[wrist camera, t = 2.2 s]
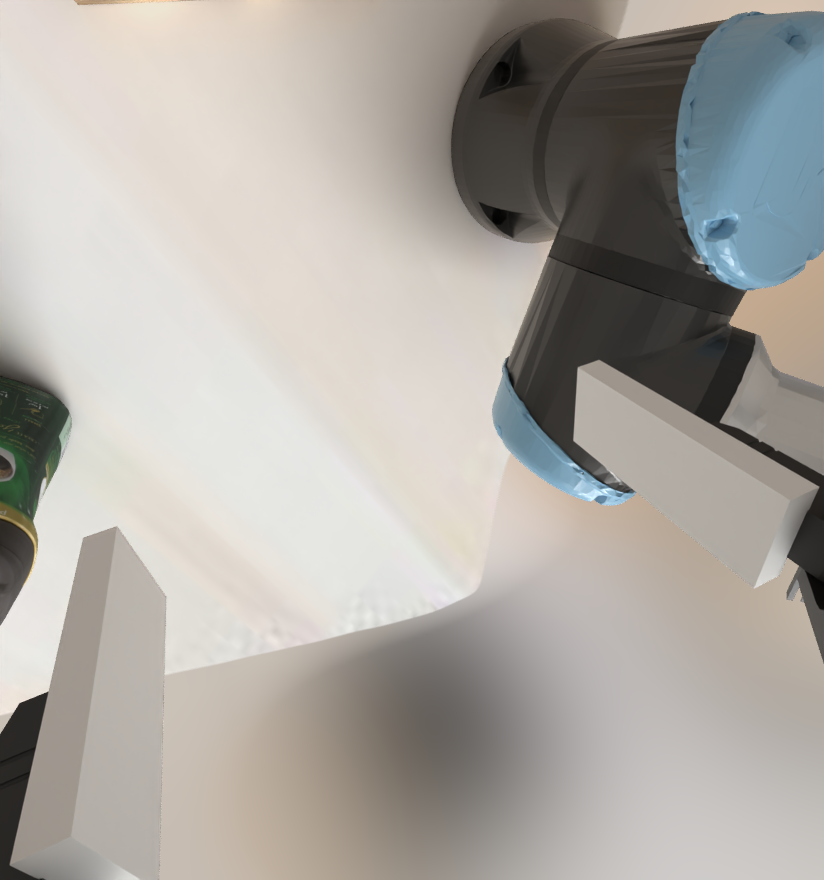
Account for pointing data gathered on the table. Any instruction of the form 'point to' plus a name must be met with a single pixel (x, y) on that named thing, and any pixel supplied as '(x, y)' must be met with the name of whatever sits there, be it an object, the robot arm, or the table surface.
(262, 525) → the table surface
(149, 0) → the keyhole board
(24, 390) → the coffee jar
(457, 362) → the table surface
